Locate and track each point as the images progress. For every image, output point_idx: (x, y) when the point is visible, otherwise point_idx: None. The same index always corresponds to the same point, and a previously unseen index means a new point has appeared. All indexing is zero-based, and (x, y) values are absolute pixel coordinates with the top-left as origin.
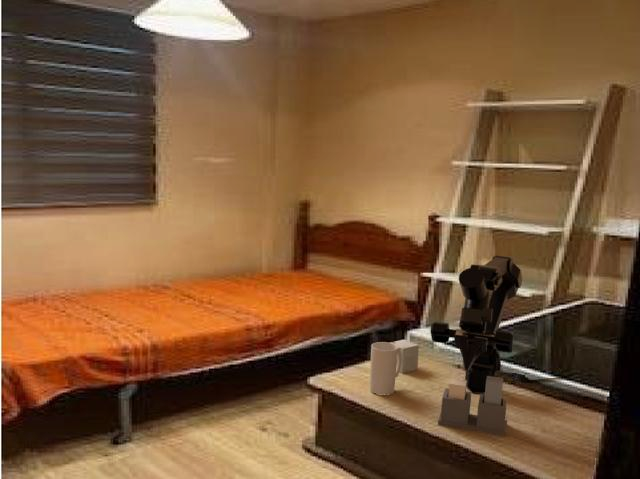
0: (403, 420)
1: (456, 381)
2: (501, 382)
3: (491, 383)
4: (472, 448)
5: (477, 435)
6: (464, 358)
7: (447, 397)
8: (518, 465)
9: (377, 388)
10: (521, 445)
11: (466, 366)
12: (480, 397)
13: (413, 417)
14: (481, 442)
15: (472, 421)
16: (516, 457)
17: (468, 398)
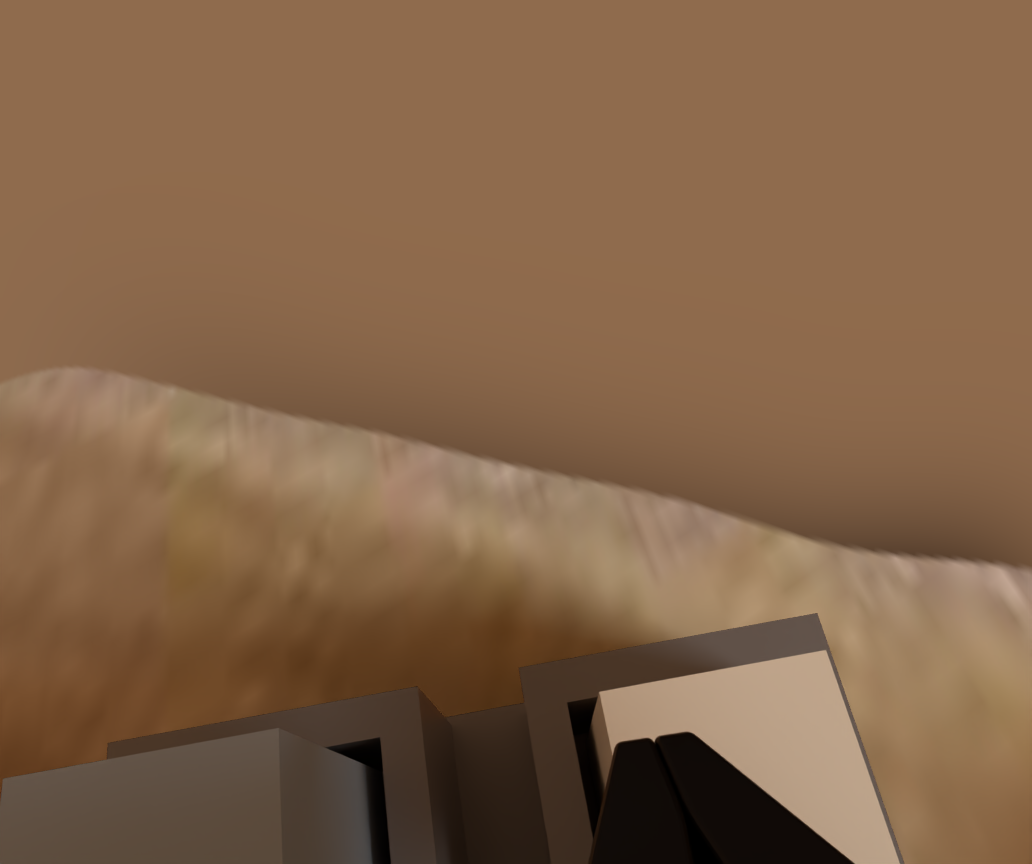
0: (1021, 577)
1: (776, 798)
2: (19, 835)
3: (196, 746)
4: (421, 443)
5: (428, 653)
6: (801, 851)
7: (772, 652)
8: (129, 396)
9: None
10: (94, 678)
11: (666, 752)
12: None
13: (996, 679)
14: (380, 557)
15: (506, 818)
16: (138, 482)
17: (554, 770)
